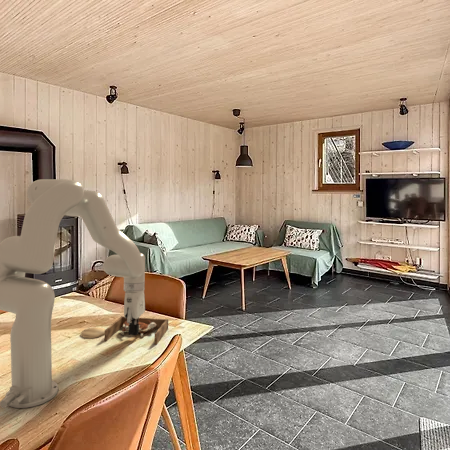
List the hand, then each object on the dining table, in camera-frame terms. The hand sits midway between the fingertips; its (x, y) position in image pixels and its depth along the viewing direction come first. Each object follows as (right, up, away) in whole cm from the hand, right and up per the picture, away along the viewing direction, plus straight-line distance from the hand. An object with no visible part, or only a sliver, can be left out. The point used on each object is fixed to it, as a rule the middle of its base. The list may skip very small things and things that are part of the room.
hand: (133, 334), depth 136 cm
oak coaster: (-17, -1, +4) cm, 17 cm away
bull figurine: (0, 0, +2) cm, 2 cm away
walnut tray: (0, -2, +4) cm, 5 cm away
